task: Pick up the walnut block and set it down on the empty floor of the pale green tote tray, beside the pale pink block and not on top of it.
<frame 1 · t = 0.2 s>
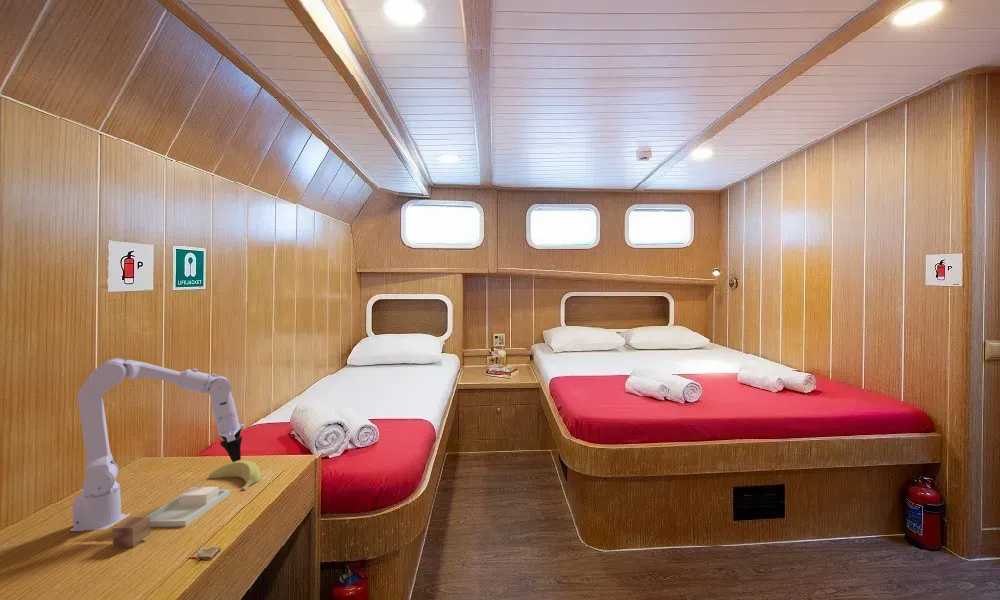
hand: (236, 456, 137), 10 cm above the table, tool pointing down, fingers open, 7 cm apart
pale pink block: (199, 501, 129), point 1 cm above the table, touching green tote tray
banana: (236, 484, 142), on the table
walnut block: (132, 542, 109), on the table
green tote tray: (187, 511, 124), on the table
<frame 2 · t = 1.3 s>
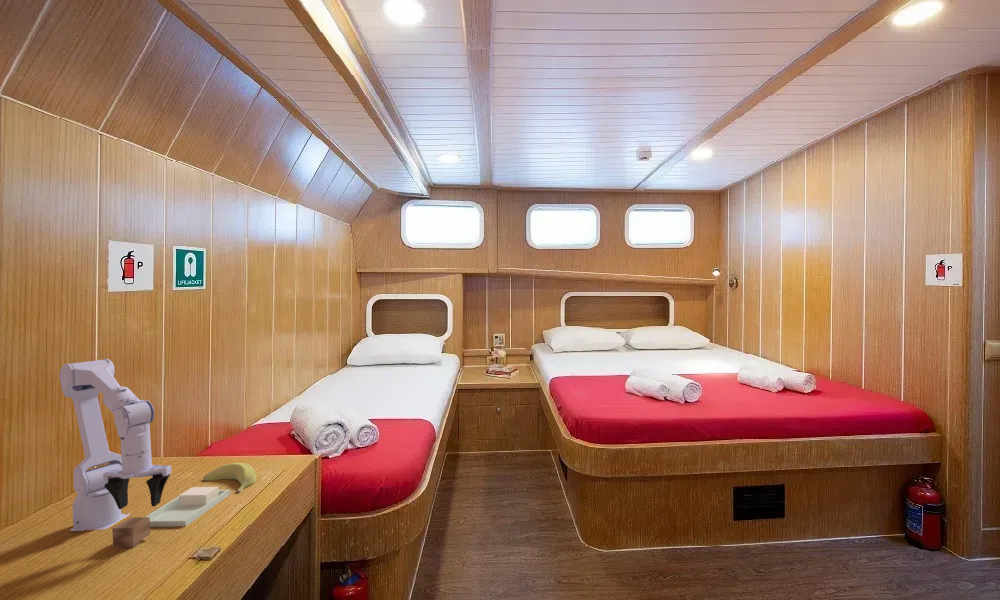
hand: (139, 505, 110), 9 cm above the table, tool pointing down, fingers open, 7 cm apart
banana: (231, 486, 141), on the table
everything else where it was.
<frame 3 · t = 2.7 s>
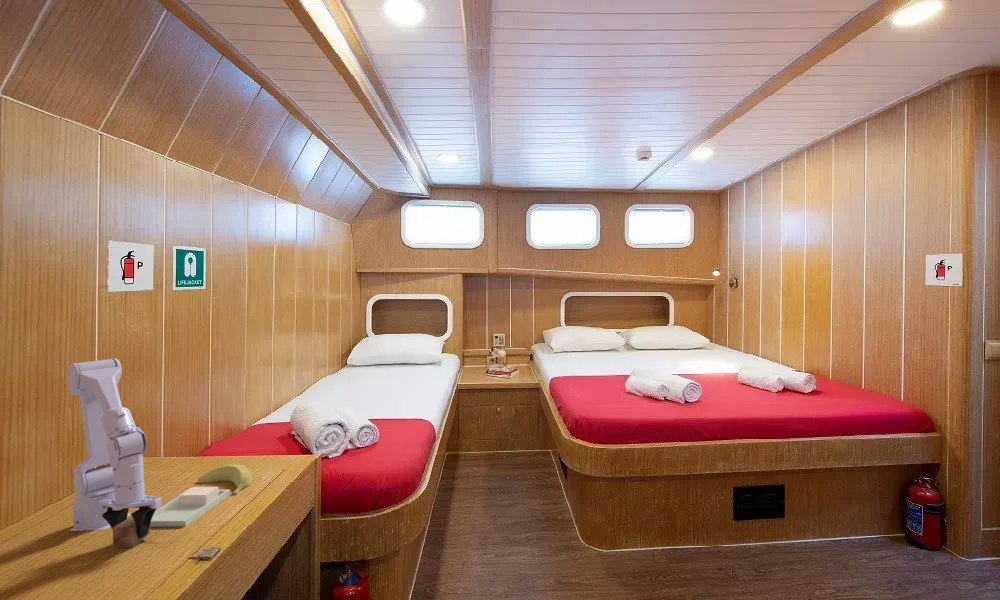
hand: (132, 536, 109), 1 cm above the table, tool pointing down, fingers closed on walnut block, 5 cm apart
banana: (226, 488, 139), on the table
walnut block: (132, 542, 109), on the table, touching gripper
everything else where it was.
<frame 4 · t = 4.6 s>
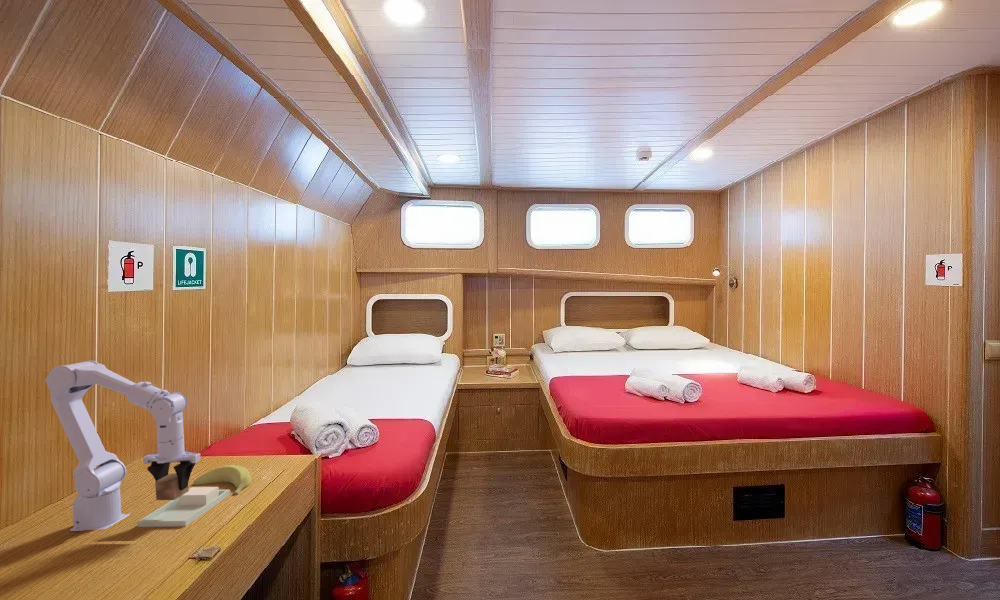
hand: (173, 488, 120), 8 cm above the table, tool pointing down, fingers closed on walnut block, 5 cm apart
walnut block: (172, 495, 119), point 7 cm above the table, touching gripper
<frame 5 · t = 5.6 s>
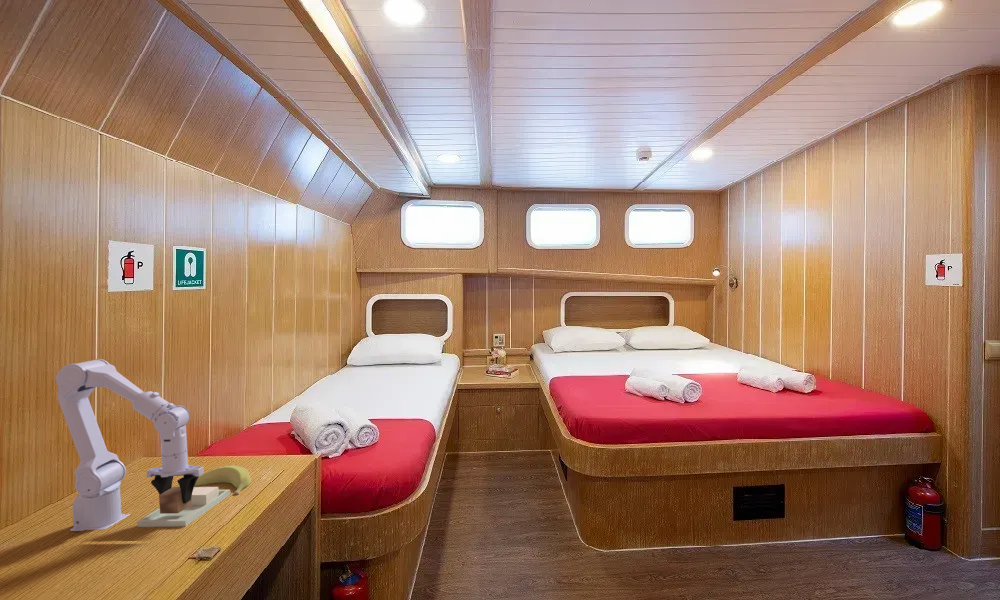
hand: (177, 501, 121), 4 cm above the table, tool pointing down, fingers closed on walnut block, 5 cm apart
walnut block: (176, 508, 120), point 3 cm above the table, touching gripper
when the fingers open (3 cm above the table, at t = 6.4 s): walnut block drops 1 cm, resting on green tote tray.
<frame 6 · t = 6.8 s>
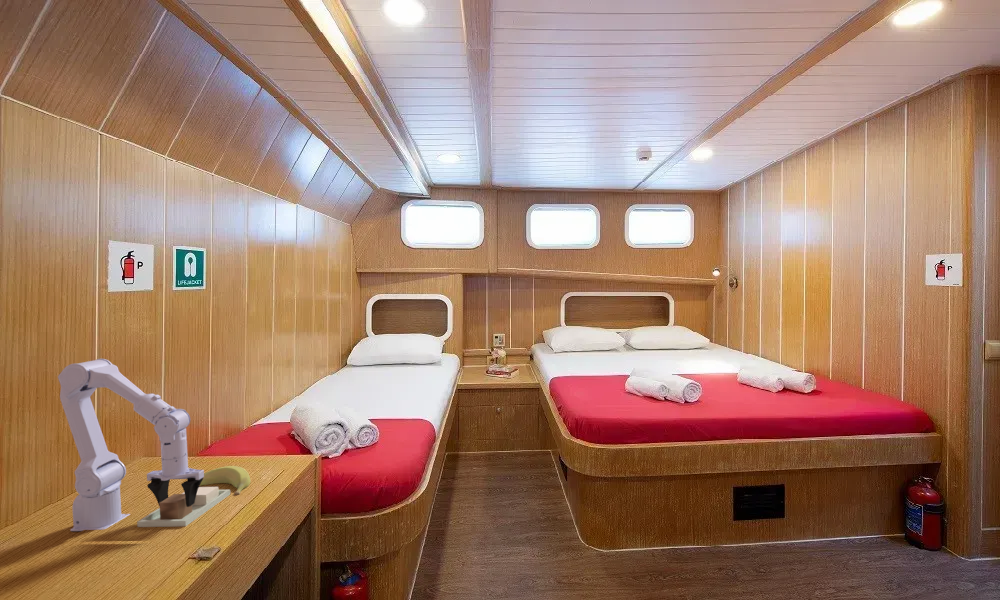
hand: (177, 505, 121), 4 cm above the table, tool pointing down, fingers open, 7 cm apart
walnut block: (176, 516, 120), point 1 cm above the table, touching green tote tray
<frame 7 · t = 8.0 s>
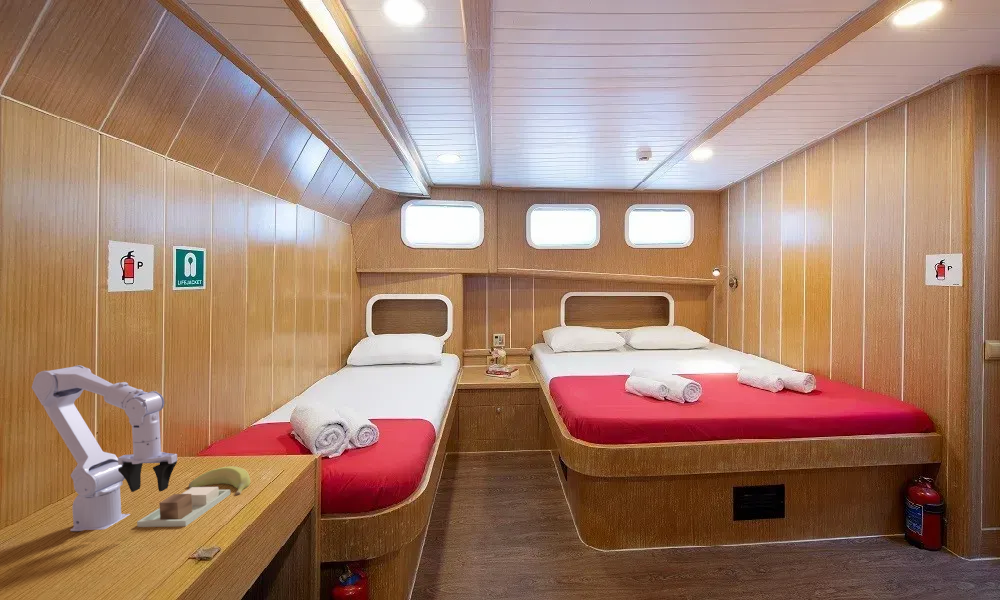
hand: (149, 489, 117), 9 cm above the table, tool pointing down, fingers open, 7 cm apart
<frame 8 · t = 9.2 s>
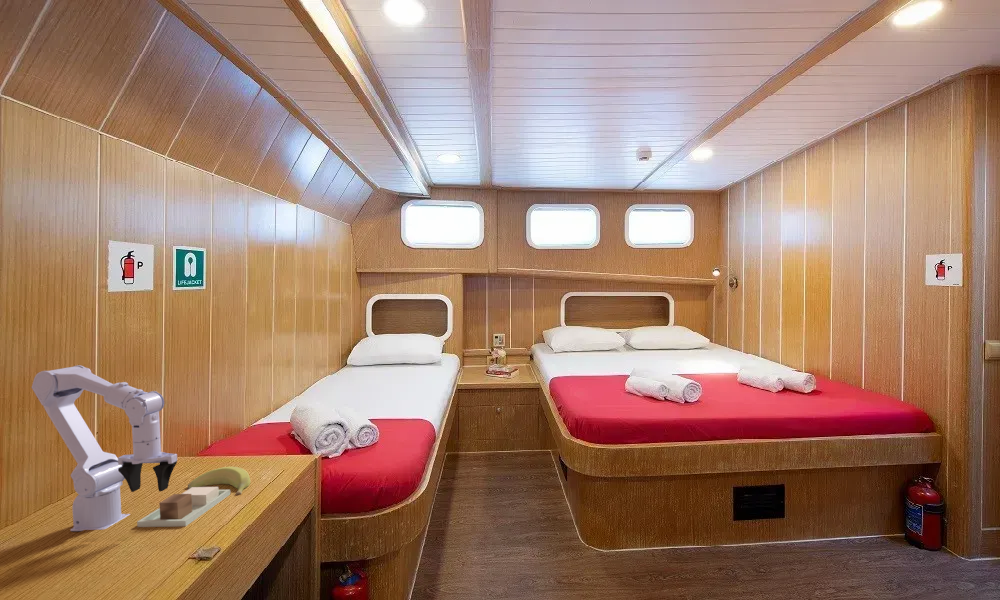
hand: (149, 489, 117), 9 cm above the table, tool pointing down, fingers open, 7 cm apart
at the end: walnut block inside the target area on the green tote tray (0.0 cm from its centre), point 0.6 cm above the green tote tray's base; walnut block tilted 0°; walnut block touching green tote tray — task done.
